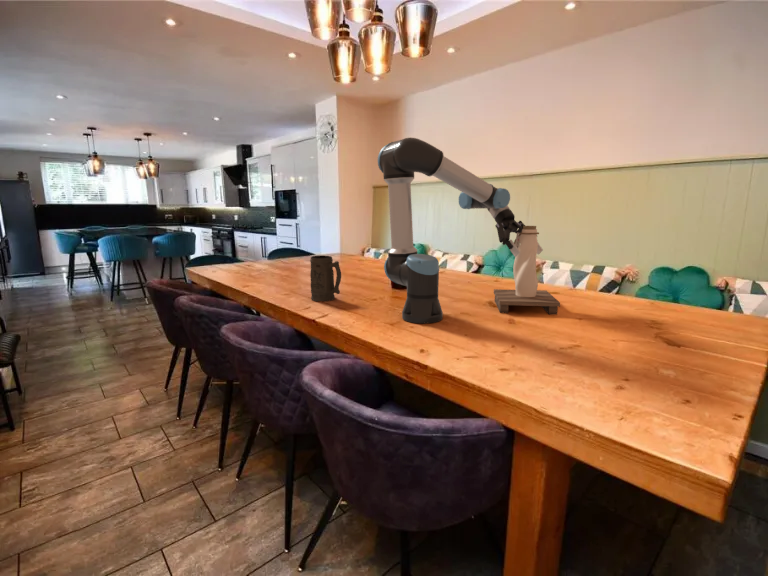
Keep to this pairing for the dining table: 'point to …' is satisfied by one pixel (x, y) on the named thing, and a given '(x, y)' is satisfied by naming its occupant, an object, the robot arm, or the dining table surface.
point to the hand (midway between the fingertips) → (529, 253)
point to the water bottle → (526, 262)
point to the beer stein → (324, 278)
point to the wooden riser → (526, 300)
